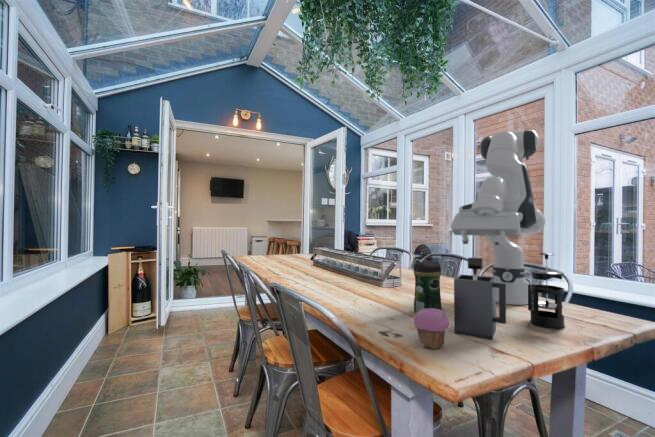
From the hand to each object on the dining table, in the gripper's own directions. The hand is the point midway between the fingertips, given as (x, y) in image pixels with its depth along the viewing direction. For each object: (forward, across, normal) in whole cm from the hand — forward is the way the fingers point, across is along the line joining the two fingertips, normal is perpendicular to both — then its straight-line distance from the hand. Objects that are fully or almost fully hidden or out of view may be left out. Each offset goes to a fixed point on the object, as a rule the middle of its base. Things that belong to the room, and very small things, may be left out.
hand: (480, 243), depth 100 cm
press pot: (+23, -1, -14) cm, 27 cm away
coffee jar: (+15, +20, -23) cm, 34 cm away
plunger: (+19, 0, -10) cm, 21 cm away
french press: (+7, -15, -31) cm, 35 cm away
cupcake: (+37, +6, 0) cm, 37 cm away
